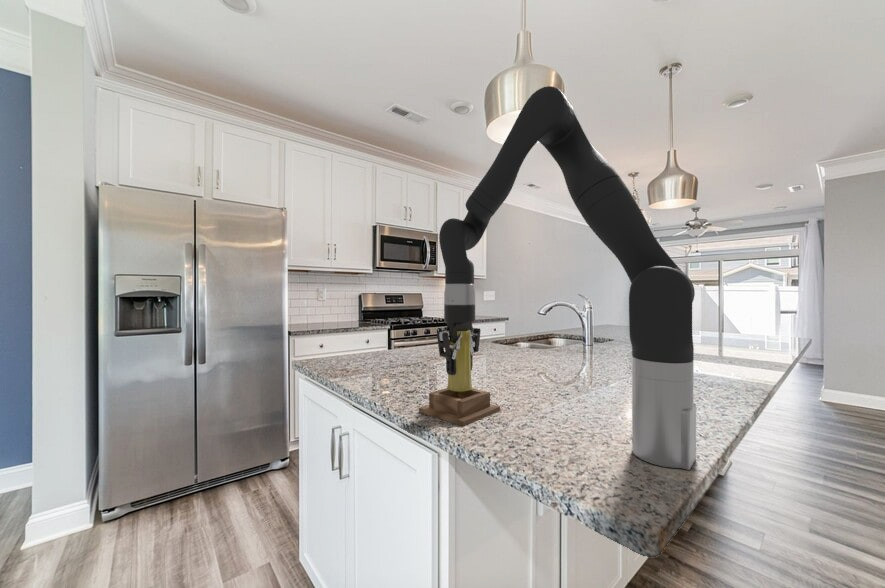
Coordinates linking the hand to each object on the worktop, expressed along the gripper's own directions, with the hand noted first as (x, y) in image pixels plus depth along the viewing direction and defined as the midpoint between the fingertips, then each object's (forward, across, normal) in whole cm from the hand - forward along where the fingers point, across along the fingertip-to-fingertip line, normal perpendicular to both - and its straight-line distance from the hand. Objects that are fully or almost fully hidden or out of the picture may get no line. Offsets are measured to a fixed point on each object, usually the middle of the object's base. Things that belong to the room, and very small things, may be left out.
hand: (459, 372), depth 89 cm
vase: (+4, 0, 0) cm, 4 cm away
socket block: (+9, 0, 0) cm, 9 cm away
